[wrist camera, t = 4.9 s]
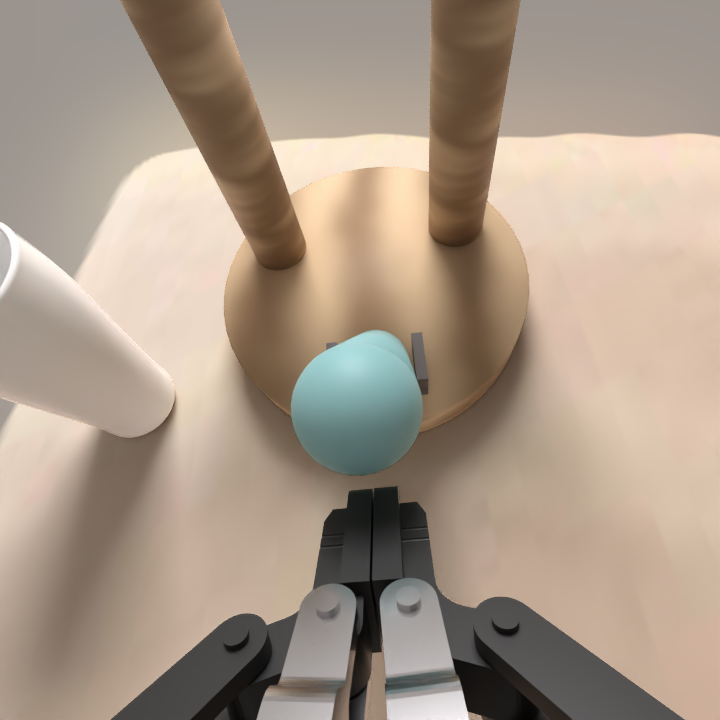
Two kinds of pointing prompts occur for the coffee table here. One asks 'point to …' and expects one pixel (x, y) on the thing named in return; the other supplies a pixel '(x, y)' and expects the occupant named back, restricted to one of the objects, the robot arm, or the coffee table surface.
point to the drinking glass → (71, 350)
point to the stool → (360, 214)
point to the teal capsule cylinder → (358, 405)
